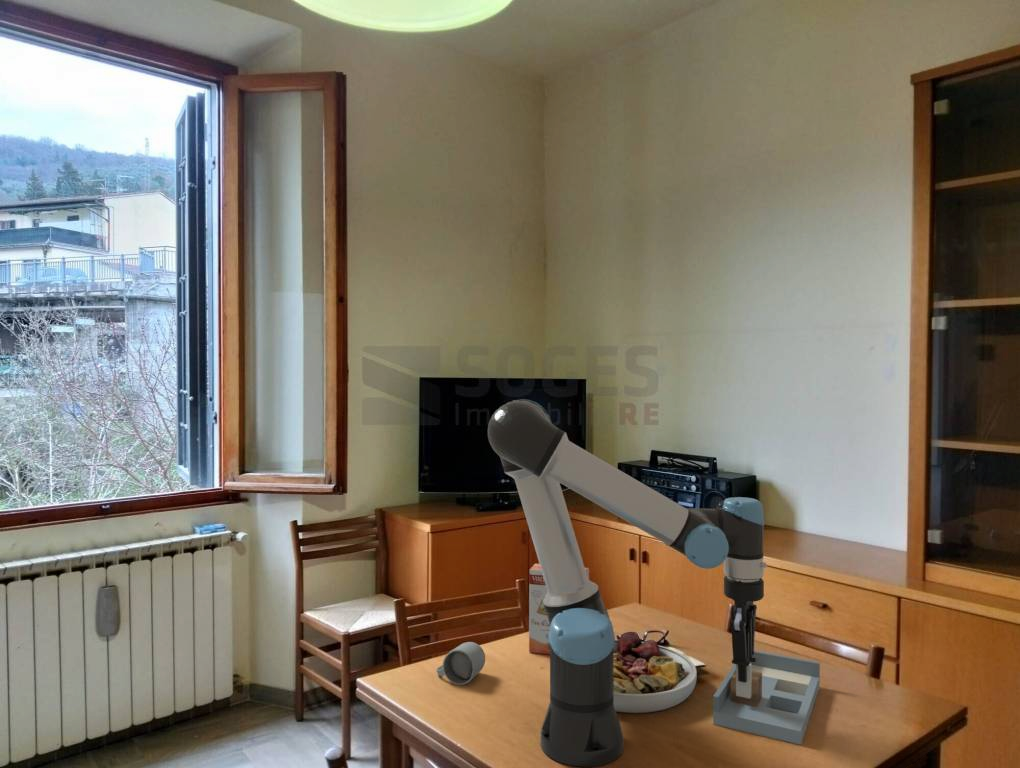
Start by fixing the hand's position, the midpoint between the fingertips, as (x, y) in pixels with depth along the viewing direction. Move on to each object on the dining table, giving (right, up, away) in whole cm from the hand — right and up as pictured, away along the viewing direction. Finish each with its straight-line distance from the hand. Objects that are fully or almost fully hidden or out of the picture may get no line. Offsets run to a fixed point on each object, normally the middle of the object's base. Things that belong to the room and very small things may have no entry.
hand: (743, 695), depth 142 cm
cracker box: (-34, -4, +34) cm, 49 cm away
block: (+1, -2, +3) cm, 4 cm away
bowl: (-21, -5, +15) cm, 26 cm away
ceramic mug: (-58, -5, +20) cm, 61 cm away
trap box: (+7, -4, +6) cm, 10 cm away
